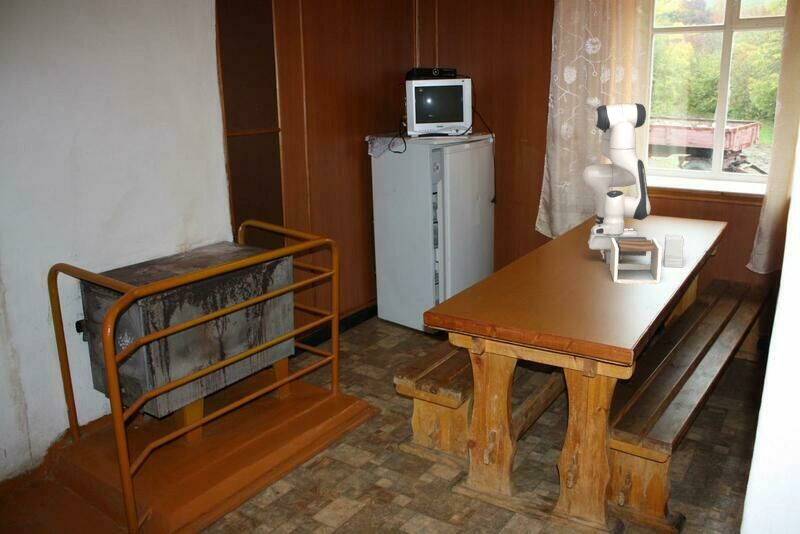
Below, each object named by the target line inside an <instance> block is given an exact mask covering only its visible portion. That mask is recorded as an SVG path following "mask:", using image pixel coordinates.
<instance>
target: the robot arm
mask: <svg viewBox="0 0 800 534" xmlns="http://www.w3.org/2000/svg"><path fill="white" fill-rule="evenodd" d="M646 120H647V110H646V107H645V106H644V104H641V103H637V102H635V103H628V102H627V103H614V104H607V105H606V104H603V105H600V106H597V108H596V109H595V112H594V115H593V121H594V124H595V127H597V129H599V130H600V131H601V142H600V153H601V155H602V156H603V157H604V158H606V159H608V160H609V161H610V163H595V164H591V165H588V166H586V167H585V168H584V170H583V171H582V174H581V175H582V181H583V183H584V185H585V186H587V187H588V188H589V189H590V190H591V191H592V192H593V194H594V196H595V199H596V215H595V225H593V226H592V227H591V228H590V235H589V239H588V241H587V245H588V248H589V250H599V251H600V253H601V255H602V260H606V253H604V252H605V251H606V250H611V238H614V239H615V241H616V240H618V237H639V231H638V230H637V229H635V228H627V227H626V228H625V219H631V220H632V219H633V220H636V221H637V220H638V221H643V220H644V219H646V218H647V217H649V216H650V214H651V210H652V209H651V201H650V198H649V192H648V184H647V177H646V169H645V164H644V162H643V161H642V160H641V159H640V158H639V156H638V154H637V136H636V129H637V128H640V127H642V126H643V125H644V124H645V123H646ZM634 185H635V190H636V196H630V195H629V196H627V195H625V193H624V192H623V191H621V190H610V188H624V187H631V186H634ZM616 244H617V246H618V243H616ZM622 257H623V256H619V259H618V260H622Z"/></svg>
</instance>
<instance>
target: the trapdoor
mask: <svg viewBox="0 0 800 534" xmlns="http://www.w3.org/2000/svg"><path fill="white" fill-rule="evenodd" d="M616 243H618V249H619V251H618V255H619V256H622V257H624V256H625V257H626V256H627V257H629V256H631V257H632V256H633V257H634V256H636V257H640V256H641V257H647V252H651V251H655V248H654V247H653V245H652V239H647V238H646V236H638V237H618V240H616Z"/></svg>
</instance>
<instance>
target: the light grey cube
mask: <svg viewBox="0 0 800 534" xmlns="http://www.w3.org/2000/svg"><path fill="white" fill-rule="evenodd" d="M605 254H606V259H605V260H606V261H605V264H606V265H610V254H611V250H605ZM618 260H620V259H619V255H618Z"/></svg>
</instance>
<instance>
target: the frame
mask: <svg viewBox="0 0 800 534" xmlns="http://www.w3.org/2000/svg"><path fill="white" fill-rule="evenodd" d="M651 243H652V245H653V247H654V248H655V251H650V263H625V262H624V263H619V259H618V251H619V249H618V246H617V244H616V241H615V239H614V238H611V254H610V264H609V271H611V272H610V274H611V277H612V280H613V281H612V282H613V283H617V284H638V285H641V284H642V285H644V284H648V285H657V284H661V283H660V282H661V270H662V269H661V268H662V255H663V248H662V247H661V245H660V243H659V242H658V241H657V239H656V238H655V237H652V238H651ZM621 270H625V271H629V270H631V271H633V270H634V271H635V270H636V271H649V272H651V275H652V276H653V279H618V273H619V272H618V271H621Z"/></svg>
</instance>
